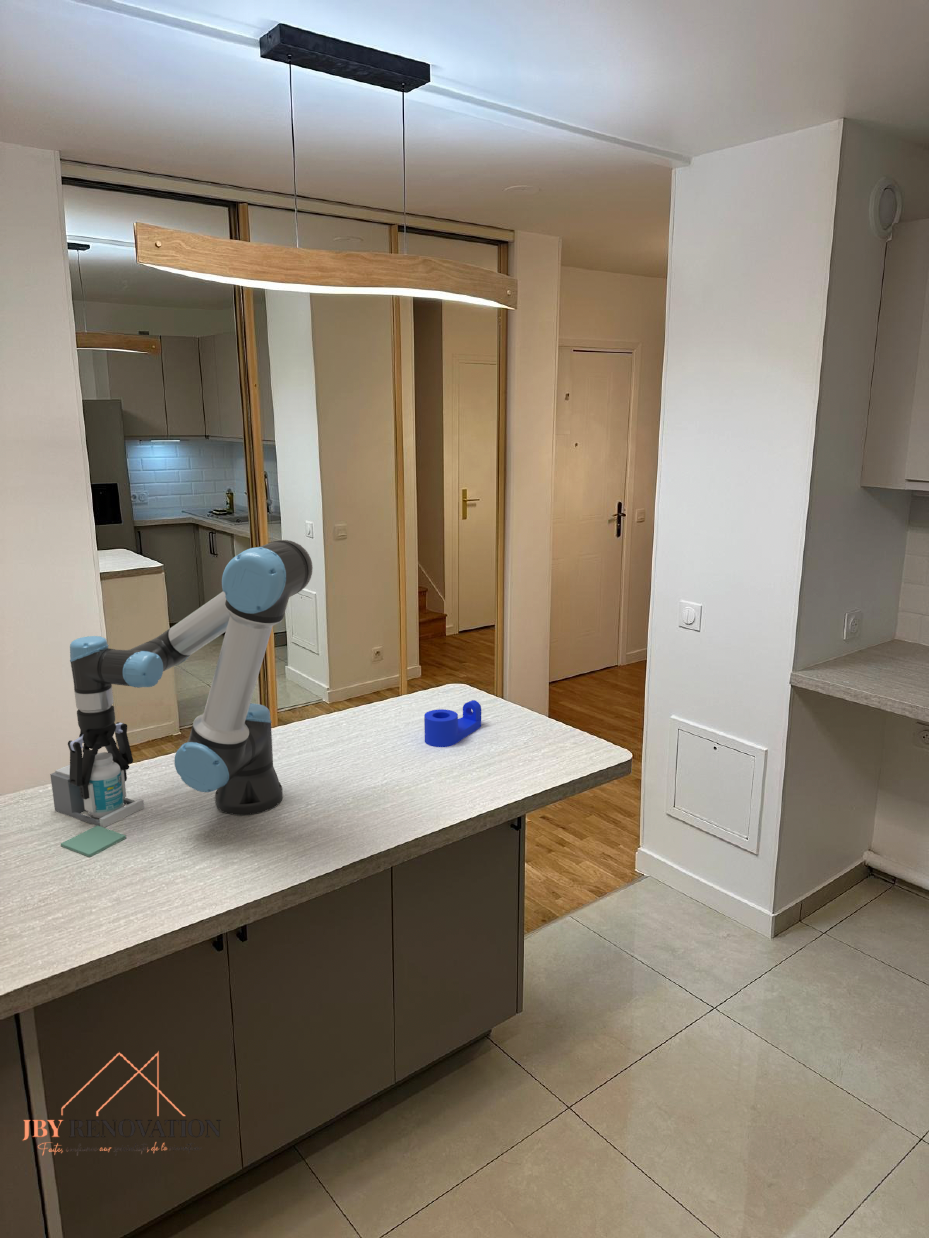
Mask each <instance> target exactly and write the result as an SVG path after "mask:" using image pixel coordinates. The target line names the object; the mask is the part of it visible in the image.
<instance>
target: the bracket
mask: <svg viewBox="0 0 929 1238" xmlns="http://www.w3.org/2000/svg"><path fill="white" fill-rule="evenodd" d="M423 716H424V717H423V719H424V727H423V728H424V743H425V744H426V745H428V746H429V747H434V748H447V747H448V748H449V747H453V746H455V745H457V744H458V743H459V742H461V741H462V740H464V739H465V738H467V737H468V736H469V735H471V734H473V733H474V732H476V731H477V730H478V729H480V728H481V727H482V706H481V704H480V702H479V701H477V700H474V699H472V700H470V701H467V702H465V703H463V705H462V717H459V714H458V713H457V712H456V711H454V710H451V709H446V708H445V709H441V708H439V709H432V710H429V711H426V712H425V713H424V715H423Z"/></svg>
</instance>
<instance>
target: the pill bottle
mask: <svg viewBox="0 0 929 1238" xmlns="http://www.w3.org/2000/svg"><path fill="white" fill-rule="evenodd" d="M89 783H91V784H93V791H94V799H95V808H96V811H95V812H90V811H88V814H89V816H90V817H92V818H95V819H100V818H102V817H104V816H106V815H108V814H110V813H112V812H114V811H116V810H118V809H120V808H122V807H124V806H125V804H124V801H123V791H122V781H121V771H120V766H119V765H118V764H117V763H116V762H113V756H112V754H111V753H108V751H106V752H105V751H104V752H102V751H101V752H98V753H97V755H95V759H94V764H93V768H92V773H91V777H90V782H89Z"/></svg>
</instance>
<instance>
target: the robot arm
mask: <svg viewBox="0 0 929 1238" xmlns="http://www.w3.org/2000/svg"><path fill="white" fill-rule="evenodd" d="M313 569H314V568H313V562H312V558H311V556H310V554H309V552H308V551H307V550H306V548H304V547H303V546H302V545H301V544H299V543H298V542H295V541H292V540H287V539H279V540H274V541H271V542H269V543H266V544H263V545H260V546H257V547H251V548H247V549H245V550H243V551H242V552H240V553H239V554H237V555H235V556H234V557H232V558H231V560H230V561H229V562H228V563H227V564H226V566H225V568H224V570H223V573H222V576H221V589H222V591H221V592H220V593H218V594H217V595H216V596H215V597H213V598H212V599H210V600H209V601H207V602H206V603H204V604H203V605H201V606H200V607H199V608H197V609H196V610H194V611H193V612H191V613H190V614H188V615H187V616H186V617H184V618H183V619H181V620H179V622H177V623H176V624H174V625H173V626H171V627H170V628H169V629H167V630H165V631H164V632H163V633H161V634H159V635H158V636H157V637H154V638H152V639H151V640H148V641H146V642H144V643H141V644H139V645H137V646H135V647H133V648H130V649H114V648H109V644H108V641H107V639H106V638H105V637H102V636H100V635H99V636H98V635H90V636H89V635H88V636H81V637H79V638H76V639H74V640H73V641H71V642H70V645H69V653H70V654H69V655H70V656H69V657H70V658H69V662H70V667H71V673H72V679H73V680H72V681H73V688H74V689H73V690H74V699H75V707H76V709H77V711H76V717H77V726H78V727H79V729H80V730H79V731H80V732H79V736H78V738H76V739H74V740H68V742H67V746H68V750H69V765H70V784H72V785H75V786H79V789H80V797H81V798H82V799H84V807H85V810H87V811H86V812H89V811H90V812H95V811H96V808H95V799H94V791H93V784H91V783H89V782H90V777H91V773H92V768H93V764H94V759H95V755H97V753H99V750H100V749H102V748H103V747H104V748H105V750H106V752H108V753H111V754H112V756H113V762H116V763H117V764H118V765H119V766H120V771H121V781H122V791H123V798H127V789H126V781H127V779H128V776H127V771H128V770H129V769H130V764H133V762H134V759H133V758H134V757H133V753H132V750H131V746H130V741H129V737H128V724H127V723H123V722H120V721H117V722H116V714H115V706H114V703H115V702H114V701H115V700H114V695H113V693H114V692H113V686H112V685H115V686H116V685H117V686H125V687H126V686H127V687H133V688H139V689H140V688H152V687H155V686H156V685H157V684H158V683H159V681H160V680H161V679H162V676H163V674H164V673H163V672H165V671H167V670H169V669H171V668H173V667H175V666H176V667H177V666H179V665H180V664H182V663H184V662H185V661H186V660H188V659H189V658H190V656H191V655H193V654H194V653H196V652H198V651H199V650H200V649H202V648H203V647H205V646H206V645H208V644H209V643H211V642H213V641H214V640H215V639H217V638H218V637H220V636H221V635H223V634H224V633H225V634H224V637H223V639H222V644H221V647H220V651H219V656H218V659H217V662H216V666H215V670H214V672H213V673H214V674H213V678H212V681H211V683H210V688H209V690H208V691H209V692H208V696H207V699H206V704H205V707H204V710H203V713H202V714H199V715H198V716H196V717H195V719H194V720H193V722H192V726H191V730H190V732H189V733H190V734H189V737H188V739H187V742H185V743H182V744H181V746H180V747H179V748H178V749H177V750H176V752H175V755H174V760H173V761H174V762H173V763H174V767H175V771H176V773H177V774H178V775H179V777H180V779H181V781H182V782H183V783H184V784H185V785H186V786H188V787H189V788H191V789H193V790H195V791H198V792H200V793H211V792H214V791H215V793H214V798H215V799H214V800H215V806H216V808H217V809H218V810H219V811H220V812H222V813H225V814H229V815H232V816H235V815H236V816H249V815H255V814H260V813H265V812H266V811H269V810H272V809H273V808H275V807H277V806H278V805H280V804H281V803H282V800H283V797H284V796H283V795H284V794H283V786H282V784H281V782H280V780H279V777H278V775H277V772H276V770H275V767H274V757H273V756H274V755H273V735H272V720H271V713H270V709H269V708H268V707H266V705H264V704H259V703H253V702H252V698H253V695H254V692H255V689H256V686H257V685H256V684H257V682H258V678H259V676H260V675H259V674H260V672H261V668H262V664H263V661H264V657H265V654H266V651H267V647H268V644H269V640H270V638H271V637H270V636H271V634H272V630H273V627H274V626H275V625H277V624H280V623H282V622H283V620H284V617H285V615H286V614H285V612H286V609H287V607H288V603H289V600H290V598H291V597H292V596H294V595H295V596H296V595H297V594H299V593H300V592H301V591H303V590H304V589H305V588H306V587H307V586H308V584H309V582H310V581H311V579H312V576H313ZM115 722H116V723H115ZM114 734H115V738H116V740H115V739H114Z"/></svg>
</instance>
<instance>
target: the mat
mask: <svg viewBox="0 0 929 1238" xmlns="http://www.w3.org/2000/svg"><path fill="white" fill-rule="evenodd" d="M125 839H127V835H126V834H122V833H120V832H117V831H115V830H111V829H110V828H109V829H108V828H106V827H105V828H104V827H101V826H98V825H97V826H96V825H94V826H93V827H91V828H90V829H87V830H85V831H83V832H81V833H80V834H76V835H75V836H73V837H71V838H69V839H66V840H65V841H63V842H61V843H60V847H63V848H64V849H66V850H70V851H72V852H75V853H77V854H80V855H82V856H86V857H88V858H91V857H94V856H95V855H96V854H98V853H100V852H102V851H104V850H106V849H108V848H110V847H112V846H113V845H116V844H117V843H119V842H121V841H123V840H125Z"/></svg>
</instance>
